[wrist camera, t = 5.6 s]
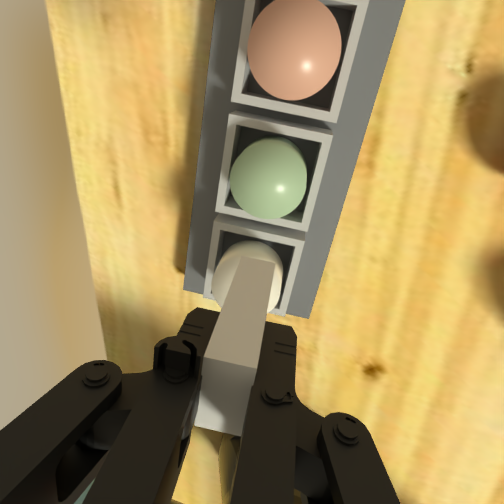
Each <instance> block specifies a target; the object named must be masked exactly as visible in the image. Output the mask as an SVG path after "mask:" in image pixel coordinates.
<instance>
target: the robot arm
mask: <svg viewBox="0 0 504 504" xmlns="http://www.w3.org/2000/svg"><path fill="white" fill-rule="evenodd" d="M275 264H276V263H273V262H269V261H264V260H259V259H254V258H249V257H244V256H241V259H240V261H239V264H238V267H237V269H236V272H235V274H234V277H233V280H232V282H231V285H230V288H229V290H228V293H227V296H226V298H225V301H224V304H223V306H222V309H221V312H217V311H212V310H207V309H203V308H198V307H197V308H196V309H194V310H193V311H191V312H190V313H188V315H187V316H186V318H185V320H184V322H183V325H182V326H181V328H180V330H179V332H178V334H177V336H172V337H167V338H165V339H163V340H161V341H159V342H158V343H157V344H156V345H155V347H154V362H153V370H150V371H147V372H143V373H131V374H122V371H121V369H120V367H119V366H117V365H116V364H115V363H113V362H110V361H106V360H96V361H91V362H88V363H85V364H83V365H81V366H80V367H78V368H77V369H75V370H74V371H73V372H72V373H70V374H69V375H68V376H67V377H66V378H65V379H63V380H62V381H61V382H60V383H58V384H57V385H56V386H54V387H53V388H52V389H51V390H50V391H48V392H47V393H46V394H45V395H43V396H42V397H41V398H40V399H38V400H37V401H36V402H35V403H34V404H32V406H30V407H29V408H27V409H26V410H25V411H24V412H23V413H21V414H20V415H19V416H18V417H17V418H15V419H14V420H13V421H12V422H10V423H9V424H8V425H7V426H5V427H4V428H3V429H2V430H0V504H183V503H180V502H178V501H175V500H173V499H172V496H173V492H174V489H175V486H176V483H177V480H178V477H179V474H180V471H181V468H182V465H183V461H184V458H185V455H186V452H187V449H188V446H189V443H190V437H191V430H192V427H193V424H194V421H195V424H194V426H198V427H202V428H207V429H211V430H215V431H219V432H224V434H223V437H222V441H221V445H220V450H219V459H218V461H219V472H220V482H221V493H222V504H400V502H399V499H398V497H397V495H396V492H395V490H394V488H393V485H392V483H391V481H390V478H389V476H388V474H387V472H386V469H385V467H384V465H383V462H382V460H381V458H380V455H379V453H378V451H377V448H376V446H375V444H374V441H373V439H372V437H371V434H370V433H369V431H368V429H367V428H366V426H365V425H364V424H363V423H362V422H361V421H359V420H358V419H357V418H355V417H353V416H351V415H349V414H346V413H341V412H336V413H330V414H329V415H327V416H326V417H325V418H324V417H322V416H320V415H318V414H316V413H314V412H312V411H311V410H309V409H308V408H306V407H305V406H304V405H303V404H302V403H301V402H300V400H299V399H298V397H297V395H296V393H295V370H296V347H297V336H296V334H295V332H294V330H293V328H292V327H291V326H286V325H282V324H277V323H272V322H268V321H266V315H267V309H268V304H269V298H270V292H271V287H272V281H273V275H274V270H275Z"/></svg>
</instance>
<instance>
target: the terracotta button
mask: <svg viewBox="0 0 504 504" xmlns="http://www.w3.org/2000/svg"><path fill="white" fill-rule="evenodd" d="M340 54H341V35H340V30H339V27H338V24H337V22H336V19H335V17H334V16H333V14H332V13H331V11H330V10H329V9H328V8H327V7H326V6H325V5H324V4H323V3H321V2H320V1H318V0H275V1H273V2H272V3H270V4H269V5H268V6H266V7H265V8H264V9H263V10H262V12H261V13H260V14H259V15H258V17H257V18H256V20H255V22H254V24H253V26H252V28H251V31H250V34H249V39H248V46H247V55H248V62H249V66H250V69H251V72H252V74H253V76H254V78H255V80H256V81H257V82H258V84H259V85H260V86H261V87H262V88H263V89H264V90H265V91H266V92H268V93H269V94H271V95H272V96H275V97H277V98H280V99H283V100H300V99H304V98H307V97H309V96H312V95H313V94H315V93H317V92H318V91H319V90H321V89H322V88H323V87H324V86H325V85H326V84H327V83H328V82H329V80H330V79H331V78H332V76H333V74H334V73H335V70H336V68H337V66H338V63H339V60H340Z"/></svg>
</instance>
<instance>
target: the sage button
mask: <svg viewBox="0 0 504 504" xmlns="http://www.w3.org/2000/svg"><path fill="white" fill-rule="evenodd" d="M306 182H307V165H306V160H305V158H304V155H303V154H302V152H301V150H300V149H299V148H298V147H297V146H296V145H295V144H294V143H293V142H291V141H290V140H288V139H286V138H283V137H279V136H265V137H261V138H259V139H256V140H255V141H253V142H252V143H250V144H249V145H248V146H247V147H246V148H245V149H244V151H243V152H242V153H241V154H240V155H239V157H238V158H237V159H236V161H235V162H234V164H233V167H232V169H231V173H230V188H231V192H232V195H233V197H234V199H235V201H236V202H237V204H238V205H239V206H240V207H241V208H242V209H243V210H244V211H246V212H247V213H249V214H250V215H252V216H255V217H258V218H262V219H276V218H280V217H283V216H285V215H287V214H289V213H290V212H292V211H293V210H294V209H295V208H296V207H297V206H298V205H299V204H300V202H301V201H302V199H303V197H304V194H305V191H306Z"/></svg>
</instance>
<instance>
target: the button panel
mask: <svg viewBox="0 0 504 504" xmlns="http://www.w3.org/2000/svg"><path fill="white" fill-rule="evenodd" d="M273 1H275V0H216V4H215V13H214V22H213V30H212V39H211V48H210V57H209V66H208V75H207V83H206V92H205V101H204V110H203V119H202V128H201V136H200V145H199V154H198V163H197V172H196V181H195V189H194V198H193V207H192V216H191V225H190V233H189V242H188V251H187V260H186V269H185V278H184V286H183V290H186V291H191V292H195V293H199V294H203V298H207V299H211V300H215V298H214V296H213V294H212V289H211V282H212V278H213V275H214V273H215V271H216V269H217V267H218V265H219V262H220V260H221V258H222V256H223V254H224V253H225V251H226V250H227V249H228V248H229V247H230V246H232V245H233V244H235V243H237V242H240V241H246V240H253V241H258V242H262V243H264V244H266V245H268V246H270V247H271V248H272V249H273V250H274V251H275V252H276V253H277V254H278V256H279V257H280V259H281V261H282V265H283V277H282V284H281V291H280V297H279V300H278V302H277V304H276V306H275V307H274V308H273V309H272V310H271V311H270V312H269V313H271V314H276V315H280V316H284V317H285V314H290V315H294V316H298V317H303V318H307V319H309V316H310V313H311V310H312V307H313V303H314V300H315V297H316V293H317V290H318V287H319V283H320V280H321V277H322V274H323V270H324V267H325V264H326V260H327V257H328V254H329V251H330V247H331V244H332V241H333V237H334V234H335V231H336V228H337V224H338V221H339V218H340V214H341V211H342V208H343V204H344V201H345V198H346V195H347V191H348V188H349V185H350V181H351V178H352V175H353V172H354V168H355V165H356V162H357V158H358V155H359V152H360V149H361V145H362V142H363V139H364V135H365V132H366V129H367V126H368V122H369V119H370V116H371V112H372V109H373V106H374V102H375V99H376V96H377V93H378V89H379V86H380V83H381V79H382V76H383V73H384V70H385V66H386V63H387V60H388V56H389V53H390V50H391V47H392V43H393V40H394V37H395V33H396V30H397V27H398V23H399V20H400V17H401V14H402V10H403V7H404V4H405V0H318V1H320V2H321V3H323V4H324V5H325V6H326V7H327V8H328V9H329V10H330V11H331V13H332V14H333V16H334V17H335V19H336V22H337V24H338V27H339V30H340V35H341V54H340V60H339V63H338V66H337V68H336V70H335V73H334V74H333V76H332V78H331V79H330V80H329V82H328V83H327V84H326V85H325V86H324V87H323V88H322V89H321V90H319V91H318V92H317V93H315V94H313V95H312V96H309V97H307V98H304V99H300V100H283V99H280V98H277V97H275V96H272V95H271V94H269V93H268V92H266V91H265V90H264V89H263V88H262V87H261V86H260V85H259V84H258V82H257V81H256V80H255V78H254V76H253V74H252V72H251V69H250V66H249V62H248V55H247V46H248V39H249V34H250V31H251V28H252V26H253V24H254V22H255V20H256V18H257V17H258V15H259V14H260V13H261V12H262V10H263V9H264V8H265V7H266V6H268V5H269V4H270V3H272V2H273ZM265 136H279V137H283V138H286V139H288V140H290V141H291V142H293V143H294V144H295V145H296V146H297V147H298V148H299V149H300V150H301V152H302V154H303V155H304V158H305V160H306V165H307V182H306V191H305V194H304V197H303V199H302V201H301V202H300V204H299V205H298V206H297V207H296V208H295V209H294V210H293V211H292V212H290V213H289V214H287V215H285V216H283V217H280V218H276V219H262V218H258V217H255V216H252V215H250V214H249V213H247V212H246V211H244V210H243V209H242V208H241V207H240V206H239V205H238V204H237V202H236V201H235V199H234V197H233V195H232V192H231V188H230V173H231V169H232V167H233V164H234V162H235V161H236V159H237V158H238V157H239V155H240V154H241V153H242V152H243V151H244V149H245V148H246V147H247V146H248V145H249V144H250V143H252V142H253V141H255V140H256V139H259V138H261V137H265Z"/></svg>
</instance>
